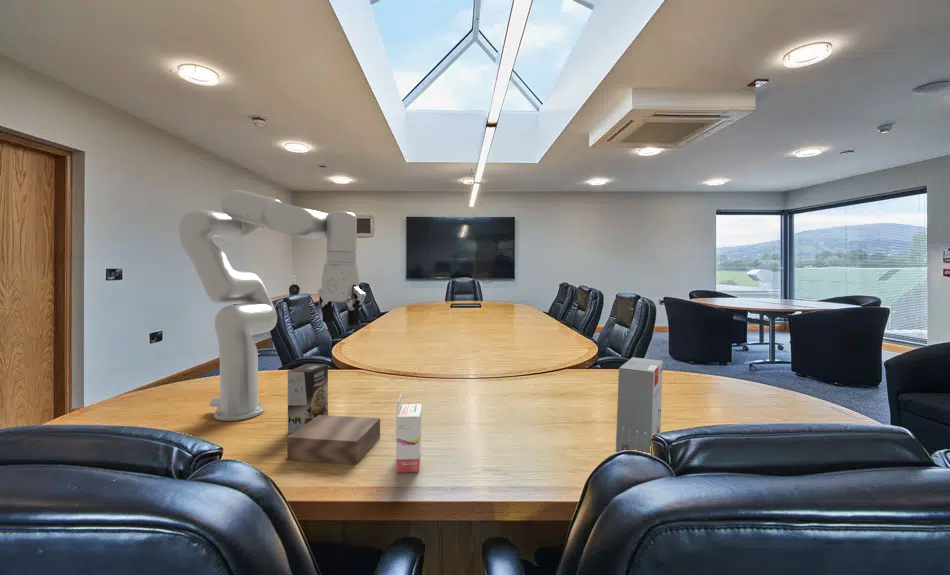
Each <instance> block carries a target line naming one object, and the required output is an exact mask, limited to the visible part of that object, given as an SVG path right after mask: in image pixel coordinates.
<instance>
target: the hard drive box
mask: <svg viewBox="0 0 950 575" xmlns="http://www.w3.org/2000/svg"><path fill="white" fill-rule="evenodd" d="M663 363H664V361H663V360H658V359H649V358H641V357H634V356H632V357H631V358H630V359H628V360H627V361H626V362H625V363H623V364H622V365H621V366H620V367H619V368H618V376H617V404H616V405H617V406H616V425H615V426H616V429H615V430H616V431H615V432H616V433H615V453H616V452H620V451H623V450H637V451H641V452H646V453H651V452H650V446H651V436H652V435H653V434H655V433H659V432H660V433H661V427H662V425H661V424H662V391H663V365H664V364H663Z"/></svg>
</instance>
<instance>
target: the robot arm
mask: <svg viewBox="0 0 950 575" xmlns="http://www.w3.org/2000/svg"><path fill="white" fill-rule="evenodd" d="M219 202H220V206H221V210H222V211H217V210H211V209H192V210H189V211H187V212H185V214H183V215H182V217H181V218H180V221H179V225H178V238H179V241H180V244H181V246H182V248H183V250H184V251H185V253H186V254H187V256H188V257H189V259H190V261H191V263H192V264H193V266H194V269H195V271H196V273H197V275H198V278H199V280H200V281H201V284H202V286H203V289H204V291H205V292H206V295H207V296H208V298H209V299H210V301H211V302H213V303H216V304H219V305H220V304H222V305H223V304H224V305H225V304H231V305H227V306H224V307H222V308H221V309H220V310H219V311H217V313H216V314H215V317H214V328H215V332H216V337H217V343H218V352H219V354H218V355H219V389H220V390H219V391H220V392H219V393H220V394H219V396H220V397H213V398H212V399H211V401H210V402H209V407H211V408H212V407H215V408H216V411H215V412H214V413H213V418H214V419H215V420H217V421H224V422H233V421H235V422H236V421H241V420H246V419H251V418H254V417H257V416H260V414H263V413H264V412H265V410H266V409H265V405H264V404H262V403H259V358H258V357H259V355H258V353H259V352H258V347H257V345H256V343H255V342H254V340H253V337H252V336H256V335H260V334H266V333H268V332H270V331H272V330H273V329H275V327H276V325H277V323H278V313H277V310H276V308H275V306H274V304H273V301H272V299H271V296H270V294H269V293H268V290H267V288H266V286H265V284H264V282H263V281H262V279H261V278H260V277H259V276H258V275H257V274H255V273H254V272H251V271H247V270H246V271H245V270H235V269H234V268H233V267H232V264H231V262H230V261H229V258H228V256H227V255H226V253H225V252H224V251H223V250H222V249H221V248H220V247H219V245H217V244H216V243H214V241H216V242H217V241H218V242H229V243H231V242H232V243H236V242H237V243H238V242H239V241H242V240H244V239H247V238H248V237H250V236H251V235H252V234H254V233H255V232H256V231H258V230H260V229H261V228H265V229H268V230H272V231H275V232H276V233H277V232H278V233H281V234H285V235H288V236H292V237H296V238H301V239H311V240H316V241H317V240H318V241H326V250H325V251H326V252H325V253H326V254H325V255H326V256H325V258H326V259H325V263H324V265H323V270H322V275H321V286H320V288H318V289H317V295H318V298H319V299H318V300H319V302H320V303H321V304H320V306H321V307H322V322H323V323H330V322H334V319H335V316H334V312H335V311H334V310H335V308H334V307H335V306H333V305H334V303H343V304H344V303H346V305H347V306H348V308H349V310H347V325H348V326H349V327H352V326H358V325H359V323H360V322H359V321H360V320H359V318H360V314H359V313H360V312H359V311H360V310H361V309H362V306H363V304H364V301H365V299H366V296H367V294H366V292H364V291H363V290H362V289H360V280H359V270H358V265H357V228H358V222H357V221H358V220H357V219H358V218H357V216H356V214H355V213H354V212H349V211H344V210H343V211H341V210H333V211H330V212H329V213H327V212H322V211H319V210H316V209H315V210H314V209H310V208H305V207H301V206H296V205H293V204H289V203H284V202H282V201H281V200H280V199H278V198H274V197H271V196H266V195H262V194H259V193H255V192H252V191H251V192H250V191H246V190H242V189H232V190H228V191H226V192H225V193H224V194H223V195H222V196H221V198H220V201H219Z"/></svg>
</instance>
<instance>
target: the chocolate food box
mask: <svg viewBox="0 0 950 575" xmlns="http://www.w3.org/2000/svg"><path fill="white" fill-rule="evenodd" d="M318 415H329V364H325V363H307V364H304V365H301V366H298V367H295V368H292V369H288V370H287V433H289V434H292V433H294V432H295V431H297V430H298V429H300V428H301V427H302V426H304V425H305V424H307V423H308V422H310V421H311V420H313V419H314V418H315V417H317V416H318Z"/></svg>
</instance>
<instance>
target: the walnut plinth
mask: <svg viewBox="0 0 950 575" xmlns="http://www.w3.org/2000/svg"><path fill="white" fill-rule="evenodd" d="M380 439H381V418H380V417H367V416H366V417H365V416H364V417H362V416H347V415H346V416H345V415H329V414H328V415H318V416H317V417H315V418H314V419H313V420H311V421H310V422H308V423H307V424H305V425H304V426H302V427H301V428H300V429H298V430H297V431H295V432H294V433H290V435H288V436H287V437H286V458H287V460H288V461H300V462H317V463H331V464H332V463H333V464H346V465H347V464H348V465H358V464H359V463H360V462H361V461H362V459H363V458H364V457H365V456H366V455H367V454H368V452H369V451H370V450H371V449H372V448H373V447H374V446H375V444H377V442H378V441H380ZM373 445H374V446H373Z"/></svg>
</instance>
